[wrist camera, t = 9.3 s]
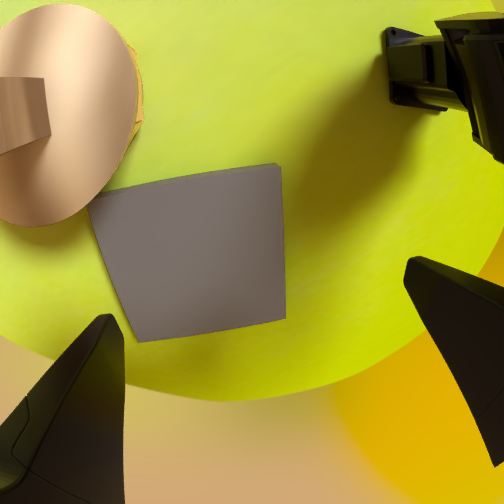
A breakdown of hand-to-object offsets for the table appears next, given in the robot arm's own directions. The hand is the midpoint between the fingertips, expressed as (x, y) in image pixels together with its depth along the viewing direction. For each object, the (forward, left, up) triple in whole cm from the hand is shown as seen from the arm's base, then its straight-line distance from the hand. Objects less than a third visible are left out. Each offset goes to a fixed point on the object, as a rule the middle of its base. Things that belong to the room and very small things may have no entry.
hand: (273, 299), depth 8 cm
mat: (+3, +6, -13) cm, 15 cm away
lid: (+10, -7, -8) cm, 15 cm away
